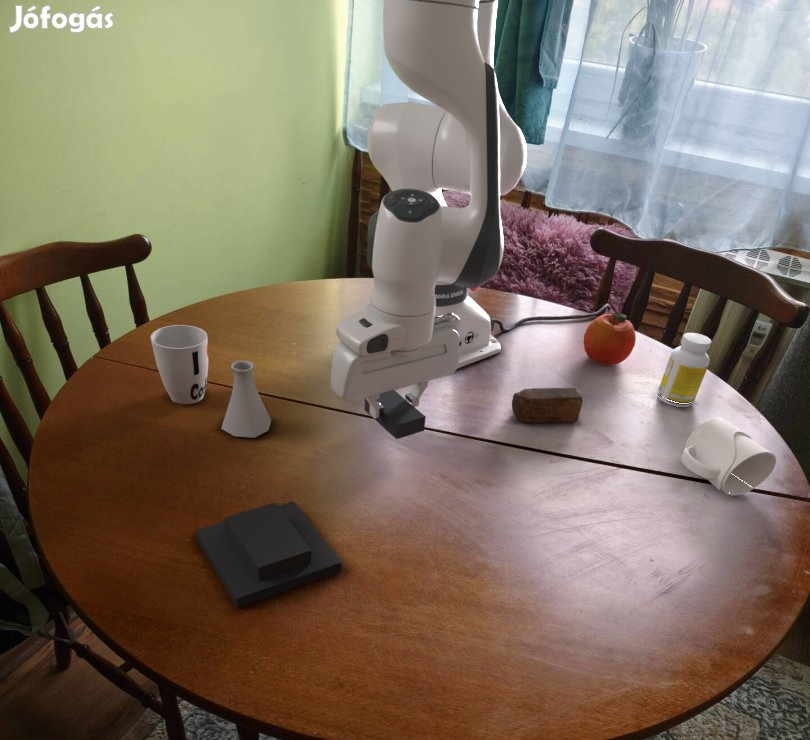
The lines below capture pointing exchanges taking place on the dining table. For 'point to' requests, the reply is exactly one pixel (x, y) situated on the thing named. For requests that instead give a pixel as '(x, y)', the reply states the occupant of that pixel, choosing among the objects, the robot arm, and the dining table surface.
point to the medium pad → (267, 541)
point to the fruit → (609, 339)
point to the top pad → (398, 415)
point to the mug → (727, 457)
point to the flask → (245, 405)
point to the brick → (547, 405)
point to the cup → (182, 361)
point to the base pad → (242, 577)
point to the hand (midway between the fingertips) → (394, 410)
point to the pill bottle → (685, 370)
